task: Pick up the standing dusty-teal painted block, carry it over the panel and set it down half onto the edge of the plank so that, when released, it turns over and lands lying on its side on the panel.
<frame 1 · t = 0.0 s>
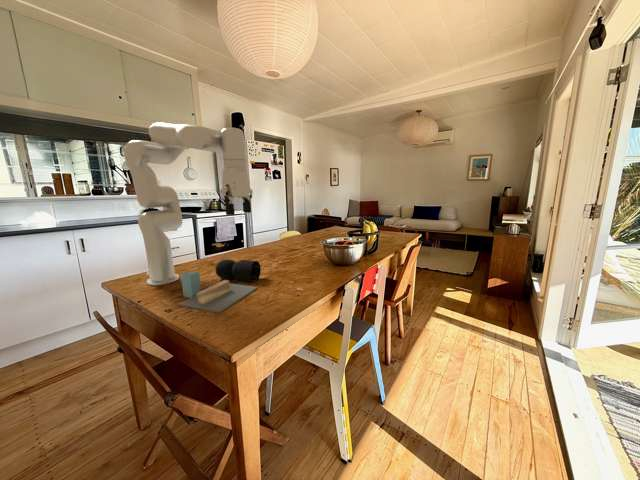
hand: (239, 213, 94), 31 cm above the table, fingers open, 9 cm apart
figurine: (238, 279, 115), on the table
block: (192, 294, 99), on the table
panel: (221, 296, 97), on the table
plank: (215, 298, 95), resting on panel
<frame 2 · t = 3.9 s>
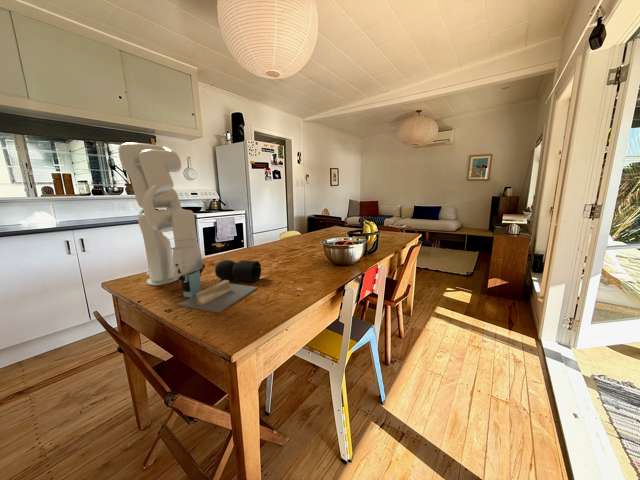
hand: (192, 288, 98), 3 cm above the table, fingers closed on block, 4 cm apart
block: (192, 294, 99), on the table, touching gripper
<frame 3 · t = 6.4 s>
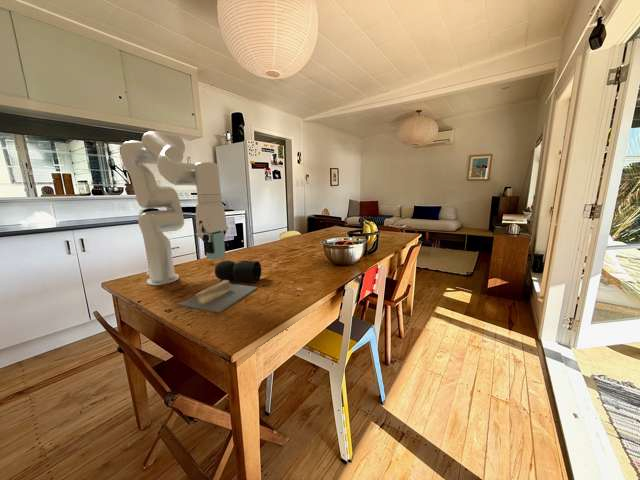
hand: (215, 250, 91), 19 cm above the table, fingers closed on block, 4 cm apart
block: (216, 257, 91), point 16 cm above the table, touching gripper
when the fingers open (8 cm above the table, at t = 9.0 s): block drops 2 cm and tips over, resting on panel.
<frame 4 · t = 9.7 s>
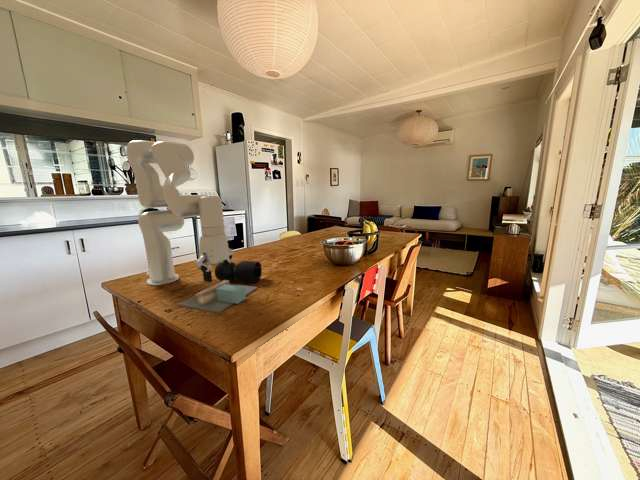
hand: (218, 277, 93), 9 cm above the table, fingers open, 9 cm apart
block: (221, 292, 93), point 3 cm above the table, tilted 90°, touching panel
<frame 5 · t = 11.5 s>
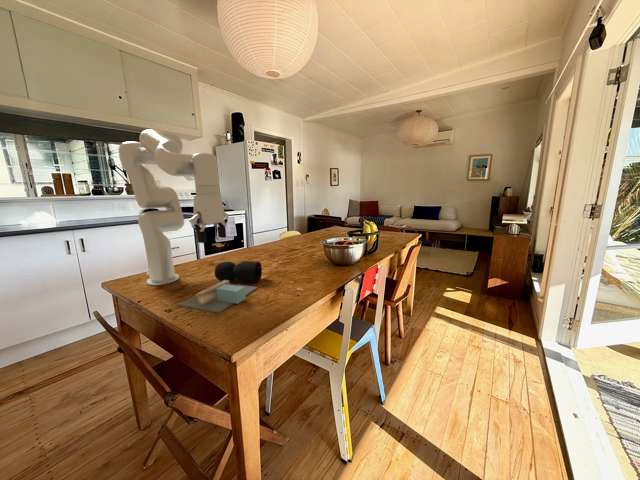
hand: (212, 239, 90), 22 cm above the table, fingers open, 9 cm apart
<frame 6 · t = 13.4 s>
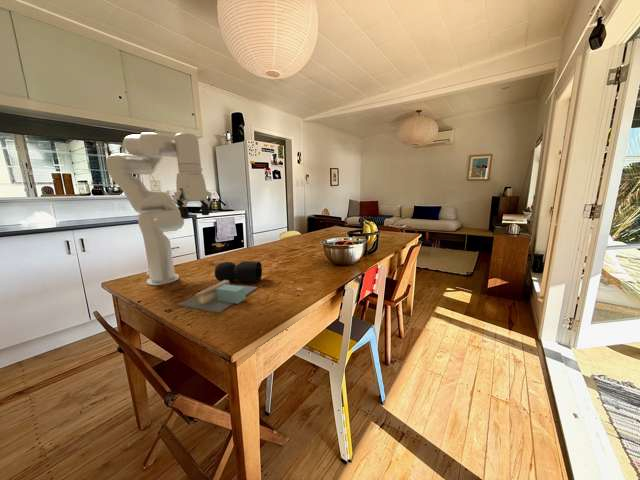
hand: (195, 216, 96), 30 cm above the table, fingers open, 9 cm apart
at the end: block tilted 90°; block inside the target area on the panel (2.2 cm from its centre), point 2.8 cm above the panel's base; the gripper is holding nothing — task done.
